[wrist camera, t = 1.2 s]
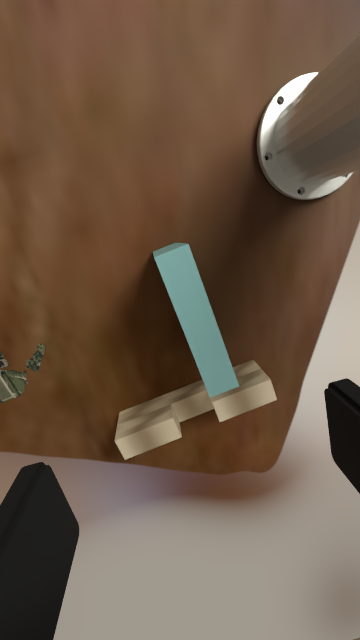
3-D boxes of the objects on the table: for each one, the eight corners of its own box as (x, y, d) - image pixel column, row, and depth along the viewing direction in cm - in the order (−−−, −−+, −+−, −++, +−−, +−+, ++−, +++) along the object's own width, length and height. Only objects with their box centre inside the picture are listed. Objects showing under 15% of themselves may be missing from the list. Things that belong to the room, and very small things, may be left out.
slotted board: (253, 359, 40) (270, 379, 34) (259, 377, 41) (277, 399, 35) (119, 412, 40) (114, 440, 35) (128, 429, 41) (124, 459, 35)
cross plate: (152, 251, 35) (154, 257, 23) (175, 242, 35) (188, 243, 24) (191, 351, 39) (210, 397, 27) (212, 343, 39) (239, 386, 27)
